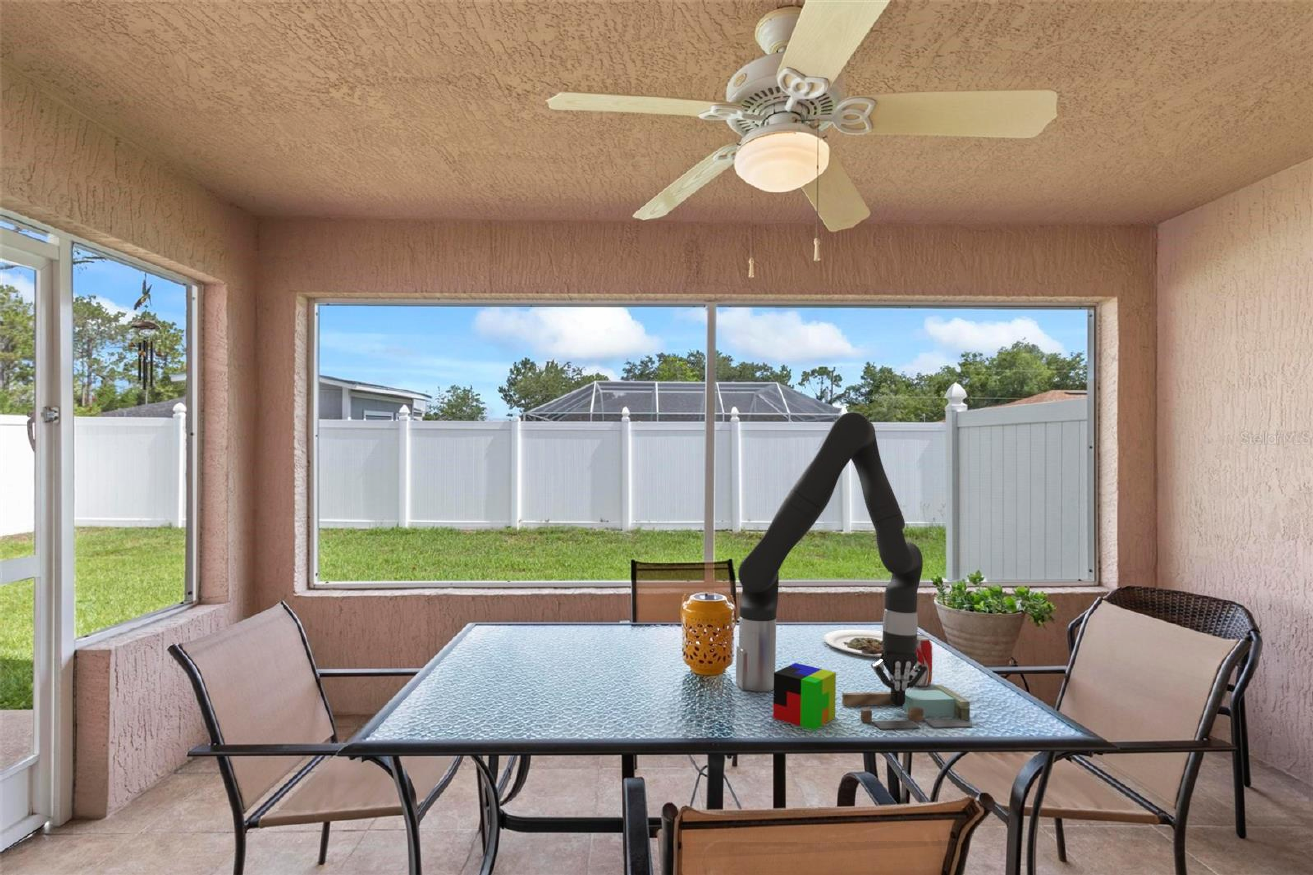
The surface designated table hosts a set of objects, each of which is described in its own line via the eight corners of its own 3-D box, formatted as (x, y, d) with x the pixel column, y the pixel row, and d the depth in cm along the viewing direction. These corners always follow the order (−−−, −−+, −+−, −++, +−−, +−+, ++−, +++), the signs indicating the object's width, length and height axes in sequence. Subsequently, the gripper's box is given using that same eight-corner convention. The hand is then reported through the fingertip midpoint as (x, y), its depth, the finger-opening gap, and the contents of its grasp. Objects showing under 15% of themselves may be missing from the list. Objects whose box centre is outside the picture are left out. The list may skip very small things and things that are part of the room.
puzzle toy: (794, 706, 157) (795, 662, 157) (835, 717, 151) (835, 672, 151) (773, 718, 149) (773, 672, 150) (814, 730, 143) (815, 683, 143)
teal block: (912, 718, 152) (913, 700, 152) (899, 708, 158) (900, 691, 158) (954, 717, 153) (954, 699, 154) (940, 707, 159) (940, 690, 160)
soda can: (934, 689, 171) (935, 641, 172) (905, 686, 173) (905, 639, 173) (929, 680, 178) (929, 634, 179) (900, 677, 180) (901, 632, 180)
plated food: (804, 640, 217) (804, 629, 217) (875, 632, 230) (876, 622, 230) (870, 666, 190) (870, 654, 190) (947, 656, 203) (947, 644, 203)
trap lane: (871, 730, 144) (871, 711, 144) (842, 703, 159) (842, 686, 159) (980, 727, 147) (980, 708, 147) (941, 701, 162) (941, 684, 162)
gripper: (880, 633, 151) (877, 712, 151) (935, 634, 153) (933, 711, 152) (865, 625, 158) (863, 699, 158) (918, 625, 160) (916, 699, 160)
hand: (897, 705), depth 155 cm, fingers closed
